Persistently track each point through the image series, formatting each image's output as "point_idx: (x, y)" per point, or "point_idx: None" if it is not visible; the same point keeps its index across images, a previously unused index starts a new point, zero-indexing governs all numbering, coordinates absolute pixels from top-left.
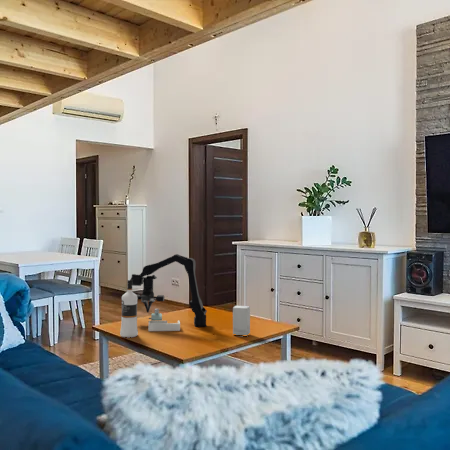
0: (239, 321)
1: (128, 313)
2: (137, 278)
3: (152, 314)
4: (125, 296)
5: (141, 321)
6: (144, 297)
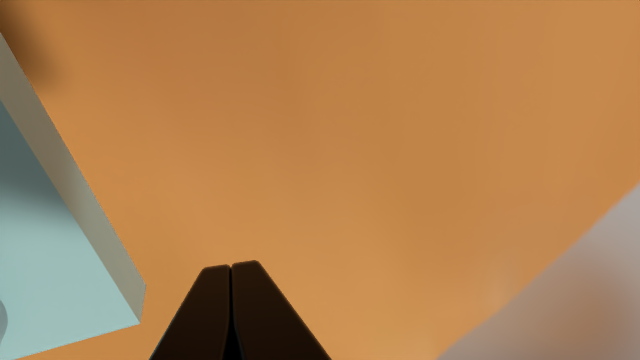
0: None
1: None
2: None
3: (34, 223)
4: None
5: (384, 198)
6: None
